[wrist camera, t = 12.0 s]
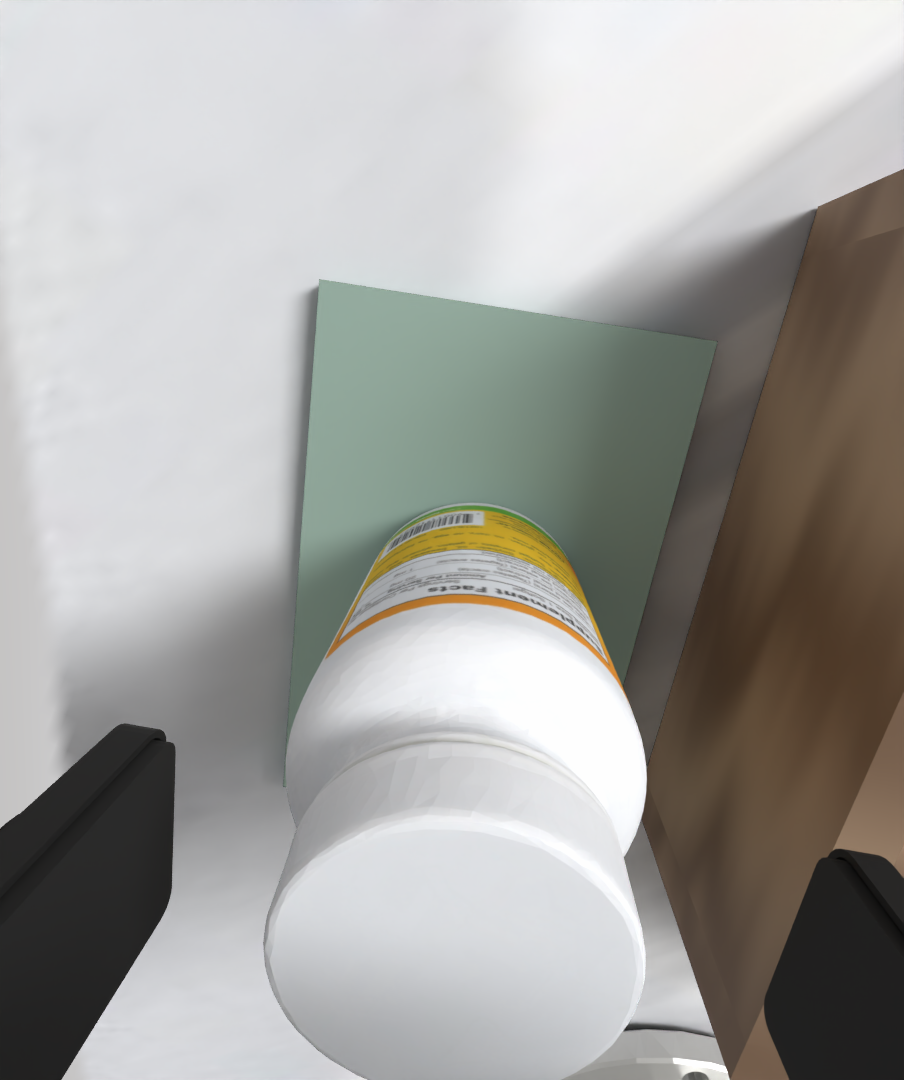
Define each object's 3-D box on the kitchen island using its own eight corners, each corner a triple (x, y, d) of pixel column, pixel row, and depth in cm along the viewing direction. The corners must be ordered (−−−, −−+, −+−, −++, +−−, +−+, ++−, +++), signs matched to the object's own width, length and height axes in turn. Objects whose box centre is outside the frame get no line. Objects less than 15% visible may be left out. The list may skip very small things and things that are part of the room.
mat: (579, 821, 18) (582, 834, 17) (288, 775, 18) (283, 786, 17) (709, 342, 13) (717, 341, 13) (325, 281, 14) (319, 279, 13)
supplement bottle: (511, 720, 16) (545, 1203, 7) (336, 633, 16) (124, 1033, 6) (618, 560, 15) (844, 912, 5) (428, 458, 14) (319, 656, 5)
